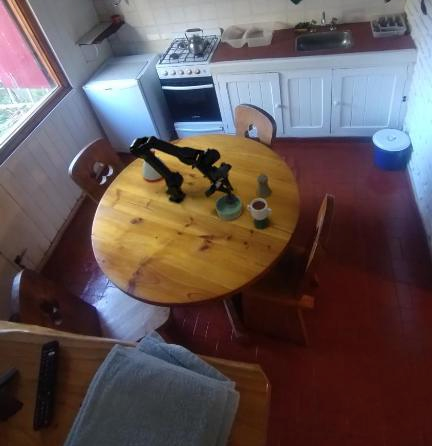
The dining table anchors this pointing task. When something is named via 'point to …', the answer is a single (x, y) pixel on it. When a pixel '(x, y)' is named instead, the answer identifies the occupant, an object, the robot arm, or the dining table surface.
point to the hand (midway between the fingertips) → (231, 192)
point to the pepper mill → (263, 185)
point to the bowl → (228, 208)
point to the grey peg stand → (230, 196)
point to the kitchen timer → (151, 172)
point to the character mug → (259, 212)
